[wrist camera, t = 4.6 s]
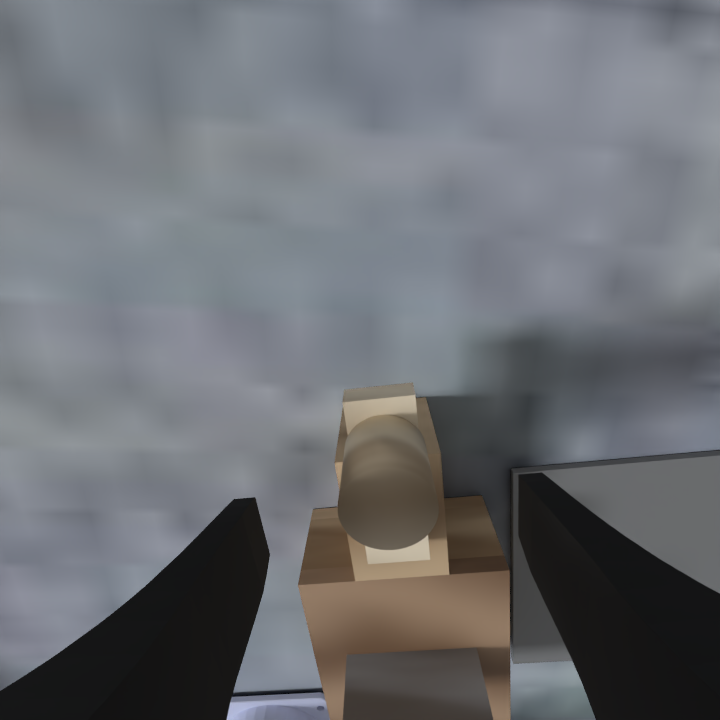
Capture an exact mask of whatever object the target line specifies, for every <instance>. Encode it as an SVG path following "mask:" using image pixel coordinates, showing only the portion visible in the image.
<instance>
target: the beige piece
mask: <svg viewBox="0 0 720 720" xmlns="http://www.w3.org/2000/svg"><path fill="white" fill-rule="evenodd" d="M343 409H344V415H345V421H346V428H347V434H348V437H347V439H346V443H345V448H344V457H343V465H342V474H341V482H340V491H339V499H338V517H339V520H340V523H341V525H342V527H343V528H344V530H345V531H346V532H347V534H348V535H349V536H351V537H352V538H353V539H354V540H356V541H357V542H359V543H361V544H362V545H365V549H366V555H367V561H368V564H379V563H393V562H406V561H420V560H430V552H429V541H428V534H429V533H430V532H431V530H432V529H433V528H434V526H435V524H436V522H437V519H438V514H439V505H438V499H437V495H436V490H435V485H434V481H433V476H432V471H431V467H430V462H429V458H428V453H427V448H426V444H425V440H424V437H423V435H422V434H421V432H420V431H419V429H418V418H417V407H416V396H415V391H414V386H413V383H404V384H395V385H385V386H376V387H366V388H356V389H347V390H344V396H343Z"/></svg>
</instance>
